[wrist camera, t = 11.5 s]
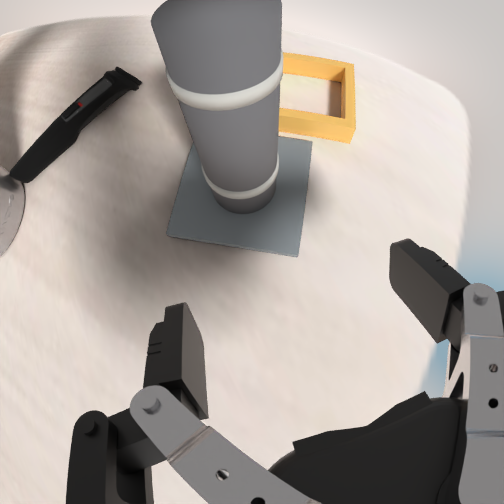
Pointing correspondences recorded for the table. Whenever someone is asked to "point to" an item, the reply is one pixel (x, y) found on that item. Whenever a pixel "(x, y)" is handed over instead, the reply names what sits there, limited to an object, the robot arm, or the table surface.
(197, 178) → the slate mat
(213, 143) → the dark grey banded cylinder
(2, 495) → the table surface
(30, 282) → the table surface
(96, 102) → the electric trimmer
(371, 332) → the table surface
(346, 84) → the yellow square frame
